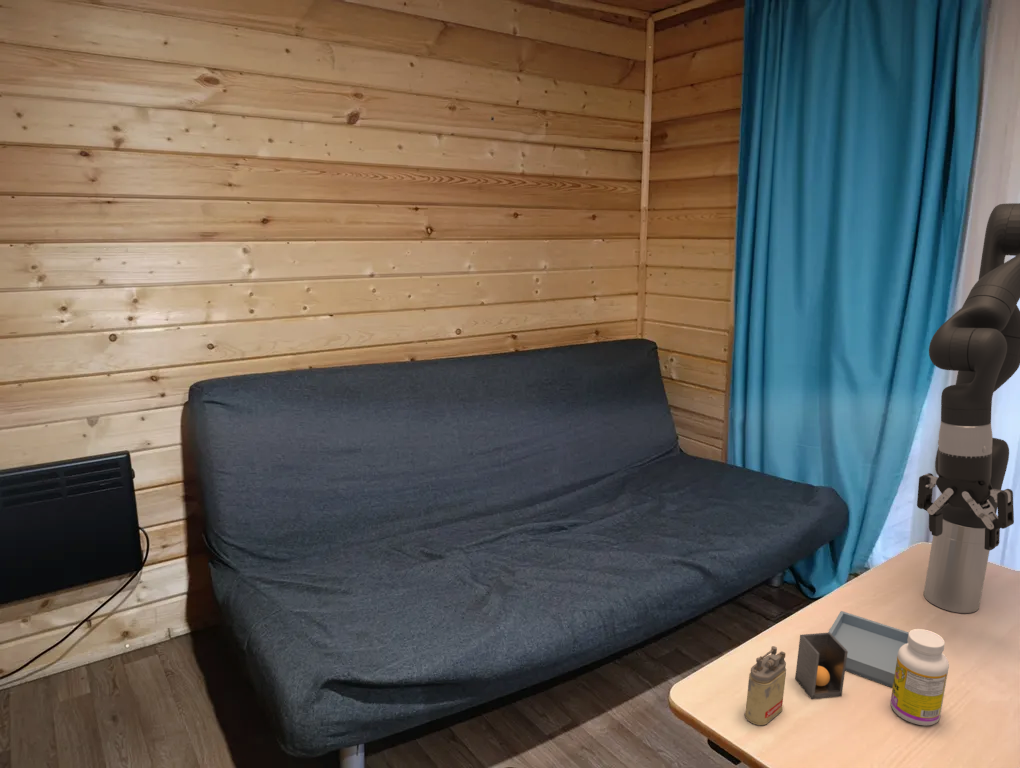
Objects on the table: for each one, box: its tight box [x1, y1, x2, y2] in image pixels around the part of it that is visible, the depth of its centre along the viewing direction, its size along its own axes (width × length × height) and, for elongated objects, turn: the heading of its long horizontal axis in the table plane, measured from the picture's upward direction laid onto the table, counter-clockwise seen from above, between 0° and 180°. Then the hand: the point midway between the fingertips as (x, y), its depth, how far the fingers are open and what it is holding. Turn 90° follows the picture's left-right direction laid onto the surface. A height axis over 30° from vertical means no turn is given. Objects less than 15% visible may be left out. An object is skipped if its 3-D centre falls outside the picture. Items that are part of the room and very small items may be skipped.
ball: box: [816, 666, 830, 686], centre depth 116 cm, size 3×3×3 cm
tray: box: [827, 610, 910, 688], centre depth 125 cm, size 14×12×2 cm
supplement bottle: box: [890, 628, 950, 726], centre depth 110 cm, size 7×7×13 cm
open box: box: [794, 631, 848, 700], centre depth 116 cm, size 5×5×8 cm
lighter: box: [744, 645, 787, 726], centre depth 110 cm, size 7×4×10 cm, turn 130°
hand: (962, 541), depth 124 cm, fingers open, 8 cm apart
